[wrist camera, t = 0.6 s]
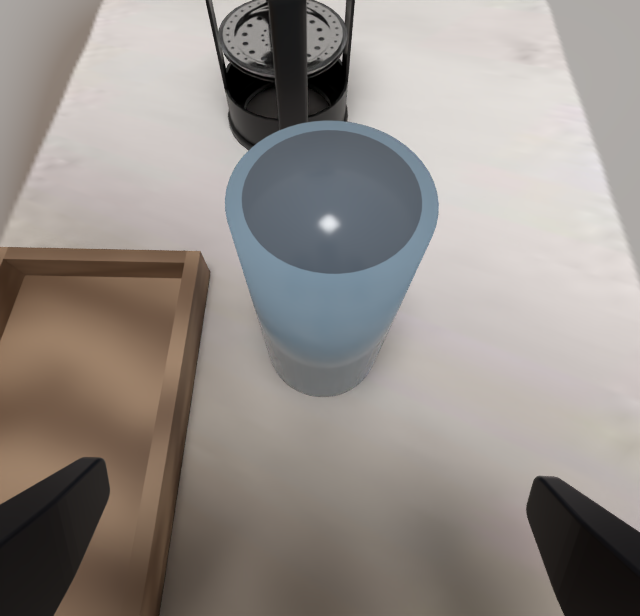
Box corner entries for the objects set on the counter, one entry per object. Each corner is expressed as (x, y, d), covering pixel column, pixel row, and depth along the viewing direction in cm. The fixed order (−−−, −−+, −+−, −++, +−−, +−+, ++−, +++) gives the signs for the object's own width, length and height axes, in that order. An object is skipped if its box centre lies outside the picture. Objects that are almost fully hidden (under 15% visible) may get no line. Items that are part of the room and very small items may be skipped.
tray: (149, 674, 17) (125, 702, 15) (-131, 671, 17) (-198, 698, 15) (210, 272, 26) (200, 251, 23) (22, 268, 26) (-6, 246, 23)
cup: (398, 358, 23) (484, 221, 12) (305, 419, 22) (297, 332, 10) (336, 278, 26) (357, 94, 14) (249, 328, 24) (187, 169, 12)
